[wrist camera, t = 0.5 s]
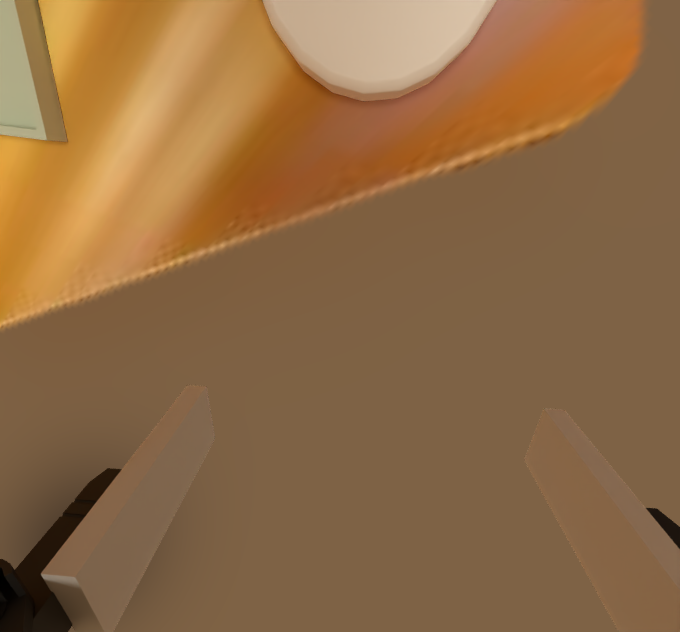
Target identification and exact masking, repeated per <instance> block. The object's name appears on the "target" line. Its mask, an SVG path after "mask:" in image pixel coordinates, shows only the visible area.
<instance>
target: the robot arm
mask: <svg viewBox="0 0 680 632" xmlns="http://www.w3.org/2000/svg"><path fill="white" fill-rule="evenodd" d="M214 439H215V435H214V429H213V423H212V417H211V411H210V405H209V399H208V393H207V387H206V386H193V385H187V386H186V388H185V389H184V390H183V392H182V393H181V394H180V395H179V397H178V398H177V399H176V401H175V402H174V403H173V405H172V406H171V407H170V408H169V410H168V411H167V412H166V413H165V415H164V416H163V417H162V419H161V420H160V421H159V422H158V424H157V425H156V426H155V428H154V429H153V430H152V432H151V433H150V434H149V435H148V437H147V438H146V439H145V440H144V442H143V443H142V444H141V446H140V447H139V448H138V449H137V451H136V452H135V453H134V455H133V456H132V457H131V458H130V460H129V461H128V462H127V464H126V465H125V466H124V467H123V469H110V468H108V469H106V470H105V471H104V472H102V473H101V474H100V475H98V476H97V477H96V478H94V479H93V480H92V481H90V482H89V483H88V484H87V486H86V487H85V488H84V489H83V490H82V491H81V493H80V494H79V495H78V496H77V497H76V499H75V501H74V502H73V503H71V504H70V506H69V507H68V508H67V509H66V510H65V511H64V513H63V516H62V517H59V519H58V520H57V521H56V522H55V523H54V524H53V526H52V527H51V528H50V529H49V530H48V531H47V533H46V534H45V535H44V536H43V537H42V539H41V540H40V541H39V542H38V543H37V544H36V546H35V547H34V548H33V549H32V550H31V551H30V553H29V554H28V555H27V556H26V557H25V559H24V560H23V561H22V562H21V563H20V564H19V566H18V567H17V568H16V569H15V570H14V569H13V567H12V566H11V564H10V563H8V562H7V561H5V560H3V559H0V632H68V631H69V629H70V628H71V626H72V627H73V628H74V630H75V631H76V632H113V631H114V629H115V627H116V625H117V623H118V621H119V619H120V618H121V616H122V614H123V612H124V610H125V608H126V606H127V604H128V602H129V601H130V599H131V597H132V595H133V593H134V591H135V589H136V587H137V585H138V583H139V582H140V580H141V578H142V576H143V574H144V572H145V570H146V568H147V566H148V565H149V563H150V561H151V559H152V557H153V555H154V553H155V551H156V549H157V547H158V545H159V544H160V542H161V540H162V538H163V536H164V534H165V532H166V530H167V528H168V527H169V525H170V523H171V521H172V519H173V517H174V515H175V513H176V511H177V509H178V508H179V506H180V504H181V502H182V500H183V498H184V496H185V494H186V492H187V490H188V489H189V486H190V485H191V483H192V481H193V479H194V477H195V475H196V474H197V471H198V470H199V468H200V466H201V464H202V462H203V460H204V458H205V456H206V455H207V453H208V450H209V449H210V447H211V445H212V443H213V441H214ZM524 461H525V463H526V465H527V466H528V468H529V470H530V471H531V473H532V475H533V477H534V479H535V481H536V483H537V484H538V486H539V488H540V490H541V492H542V494H543V495H544V497H545V499H546V501H547V503H548V505H549V506H550V508H551V510H552V512H553V514H554V515H555V517H556V519H557V521H558V523H559V524H560V526H561V528H562V530H563V532H564V534H565V535H566V537H567V539H568V541H569V543H570V544H571V546H572V548H573V550H574V552H575V553H576V555H577V557H578V559H579V561H580V563H581V564H582V566H583V568H584V570H585V572H586V573H587V575H588V577H589V579H590V581H591V582H592V584H593V586H594V588H595V590H596V592H597V593H598V595H599V597H600V599H601V601H602V602H603V604H604V606H605V608H606V610H607V612H608V613H609V615H610V617H611V619H612V621H613V622H614V624H615V626H616V628H617V629H618V631H619V632H680V527H679V526H678V525H677V524H675V523H674V522H673V521H672V520H670V519H669V518H668V517H667V516H665V515H664V514H663V513H662V512H660V511H659V510H658V509H655V508H654V509H653V508H645V507H644V506H643V504H642V503H641V502H640V501H639V499H638V498H637V497H636V496H635V495H634V494H633V492H632V491H631V490H630V489H629V488H628V486H627V485H626V484H625V483H624V481H623V480H622V479H621V478H620V477H619V475H618V474H617V473H616V472H615V471H614V469H613V468H612V467H611V466H610V464H609V463H608V462H607V461H606V460H605V458H604V457H603V456H602V455H601V454H600V452H599V451H598V450H597V449H596V447H595V446H594V445H593V444H592V443H591V442H590V440H589V439H588V438H587V437H586V435H585V434H584V433H583V432H582V431H581V429H580V428H579V427H578V426H577V425H576V423H575V422H574V421H573V420H572V419H571V417H570V416H569V415H568V414H567V413H566V411H565V410H560V409H545V408H544V409H543V412H542V415H541V418H540V420H539V423H538V425H537V428H536V430H535V433H534V436H533V438H532V441H531V444H530V446H529V449H528V452H527V454H526V457H525V459H524Z"/></svg>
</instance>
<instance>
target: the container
mask: <svg viewBox="0 0 680 632" xmlns="http://www.w3.org/2000/svg"><path fill="white" fill-rule="evenodd" d="M262 1H263V4H264V7H265V9H266V12H267V15H268V17H269V20H270V22H271V25H272V27H273V28H274V30H275V31H276V33H277V34H278V36H279V38H280V39H281V41H282V42H283V43H284V45H285V46H286V48H287V49H288V50H289V52H290V53H291V54H292V56H293V57H294V59H295V60H296V61H297V63H298V64H299V65H300V67H301V68H302V70H303V71H304V72H305V73H307V74H308V75H309V76H311V77H312V78H313V79H315V80H316V81H317V82H319V83H320V84H321V85H323V86H324V87H326V88H327V89H328V90H330V91H331V92H333V93H336V94H339V95H343V96H346V97H350V98H353V99H357V100H360V101H375V100H387V99H397V98H399V97H401V96H403V95H405V94H407V93H410V92H412V91H414V90H416V89H418V88H420V87H422V86H424V85H427V84H429V83H430V82H431V81H432V80H433V79H434V78H435V77H436V76H437V75H438V74H440V73H441V72H442V71H443V70H444V69H445V68H446V67H447V66H448V65H449V64H450V63H451V62H453V61H454V60H455V59H456V58H457V57H458V56H459V55H460V54H461V53H462V52H463V50H464V49H465V48H466V47H467V46H468V45H469V44H470V42H471V41H472V39H473V38H474V36H475V34H476V33H477V31H478V30H479V28H480V27H481V25H482V23H483V22H484V20H485V19H486V17H487V16H488V14H489V12H490V11H491V9H492V8H493V6H494V5H495V3H496V1H497V0H262Z"/></svg>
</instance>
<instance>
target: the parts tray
mask: <svg viewBox="0 0 680 632" xmlns="http://www.w3.org/2000/svg"><path fill="white" fill-rule="evenodd" d="M0 134H1V135H9V136H17V137H25V138H33V139H41V140H50V141H63V142H68V141H67V137H66V132H65V127H64V123H63V118H62V113H61V108H60V104H59V99H58V94H57V90H56V85H55V80H54V75H53V71H52V66H51V61H50V57H49V52H48V47H47V42H46V38H45V33H44V28H43V24H42V19H41V14H40V9H39V5H38V0H0Z"/></svg>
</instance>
